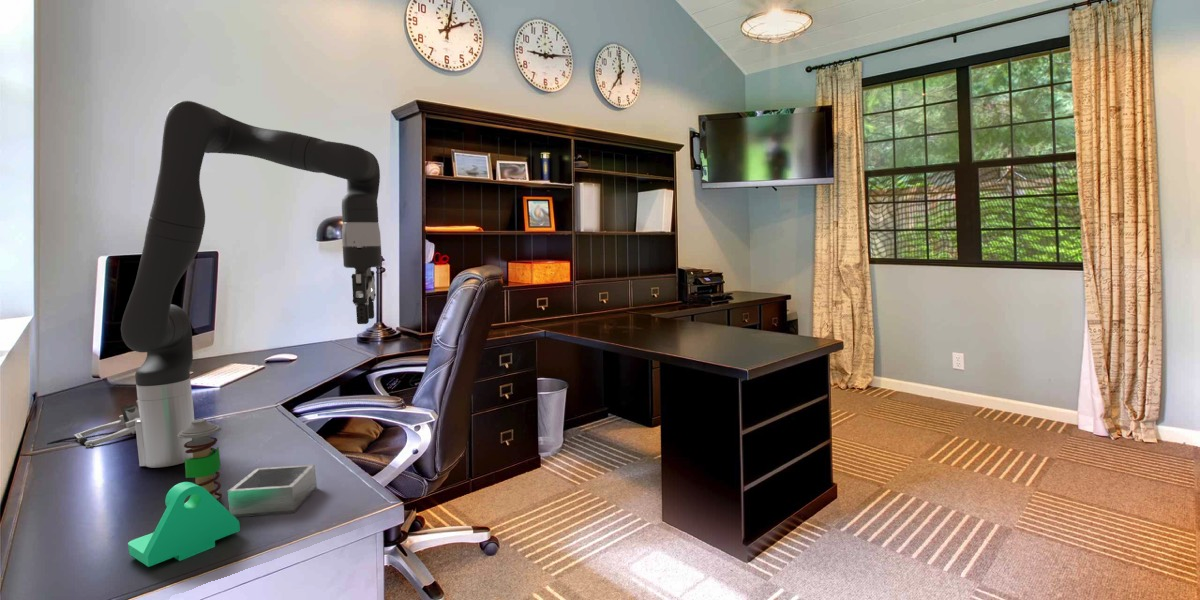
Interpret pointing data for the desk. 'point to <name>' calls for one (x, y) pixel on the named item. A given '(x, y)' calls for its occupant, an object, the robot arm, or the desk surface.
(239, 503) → the square tray
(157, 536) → the camera mount
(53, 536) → the desk surface
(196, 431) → the shock absorber
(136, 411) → the bike brake
